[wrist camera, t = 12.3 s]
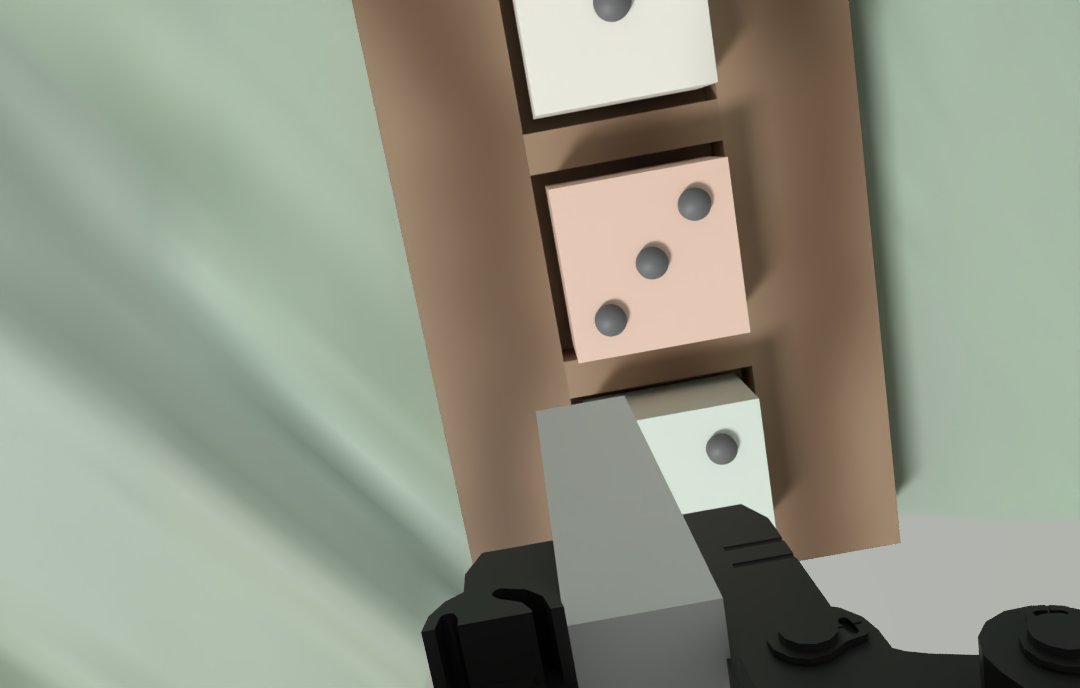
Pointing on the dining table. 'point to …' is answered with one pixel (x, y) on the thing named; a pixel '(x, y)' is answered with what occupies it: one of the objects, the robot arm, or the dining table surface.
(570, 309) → the tile three
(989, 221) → the dining table surface
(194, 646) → the dining table surface
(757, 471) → the tile two
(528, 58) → the tile one
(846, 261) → the board
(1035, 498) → the dining table surface
